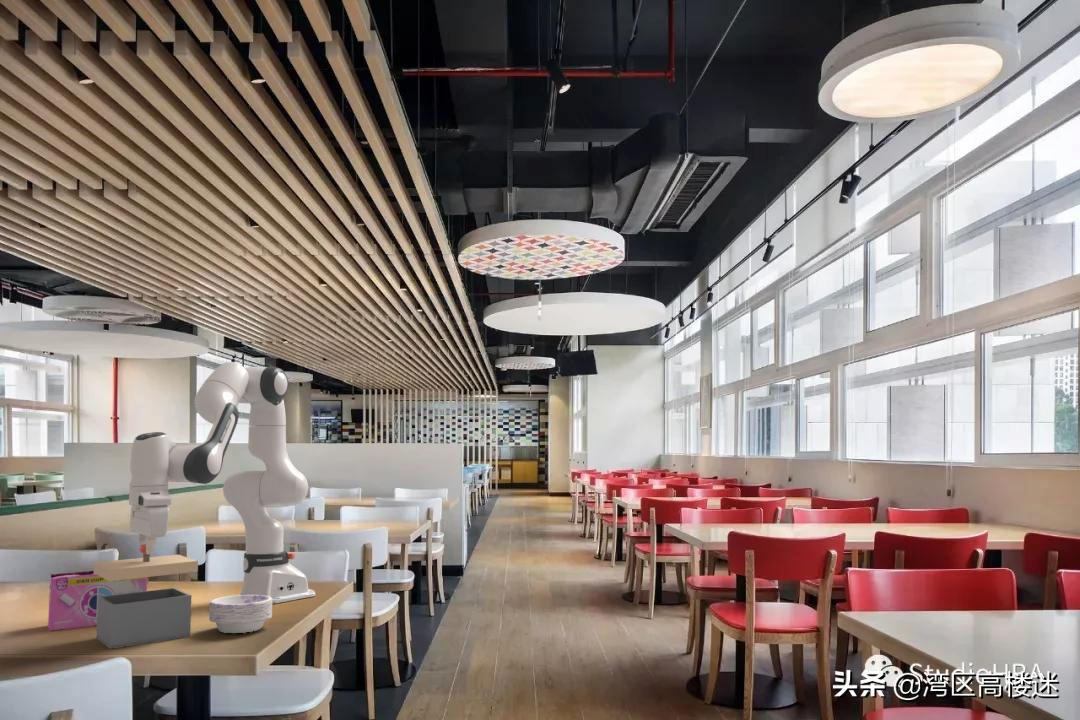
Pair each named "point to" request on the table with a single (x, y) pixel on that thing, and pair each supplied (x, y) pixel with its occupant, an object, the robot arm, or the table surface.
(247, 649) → the table surface
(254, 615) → the paper bowls
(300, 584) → the robot arm
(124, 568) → the lid
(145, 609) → the carton
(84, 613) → the gum box
